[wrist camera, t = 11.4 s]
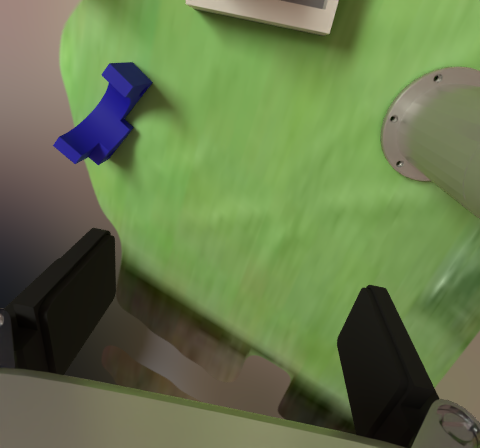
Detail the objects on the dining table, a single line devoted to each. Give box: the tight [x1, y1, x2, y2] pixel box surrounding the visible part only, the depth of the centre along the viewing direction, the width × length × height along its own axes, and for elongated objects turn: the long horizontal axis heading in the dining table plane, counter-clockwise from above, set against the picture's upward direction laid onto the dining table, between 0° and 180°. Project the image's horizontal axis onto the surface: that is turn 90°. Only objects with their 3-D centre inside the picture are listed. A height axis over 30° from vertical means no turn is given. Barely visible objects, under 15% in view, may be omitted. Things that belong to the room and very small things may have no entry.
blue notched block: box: [53, 62, 153, 165], centre depth 37 cm, size 12×4×6 cm, turn 135°
